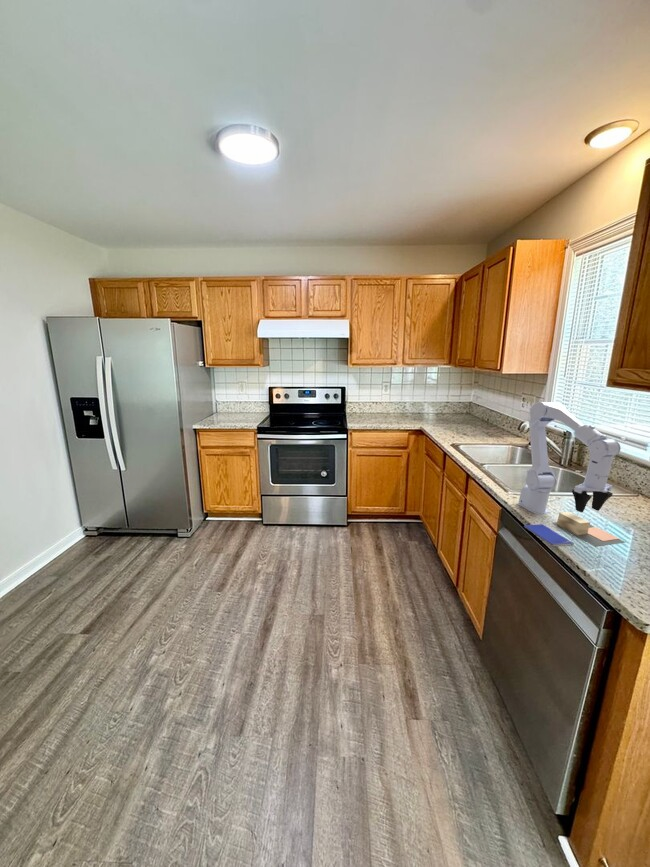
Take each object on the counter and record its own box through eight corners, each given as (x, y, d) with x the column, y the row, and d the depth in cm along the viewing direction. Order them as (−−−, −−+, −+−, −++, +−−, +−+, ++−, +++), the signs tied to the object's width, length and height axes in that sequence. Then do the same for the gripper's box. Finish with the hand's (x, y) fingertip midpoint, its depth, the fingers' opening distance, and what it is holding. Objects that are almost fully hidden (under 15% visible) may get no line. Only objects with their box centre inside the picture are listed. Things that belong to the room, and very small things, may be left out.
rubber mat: (551, 523, 124) (551, 522, 124) (579, 520, 128) (579, 519, 128) (595, 547, 109) (595, 546, 109) (625, 543, 113) (625, 542, 113)
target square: (579, 529, 120) (579, 528, 120) (595, 527, 122) (595, 527, 122) (602, 541, 112) (602, 540, 112) (619, 539, 115) (619, 538, 115)
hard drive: (574, 542, 109) (543, 524, 121) (553, 544, 108) (524, 525, 120) (572, 547, 110) (542, 528, 122) (552, 548, 108) (523, 529, 120)
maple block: (556, 523, 123) (559, 512, 122) (565, 522, 125) (568, 511, 123) (577, 535, 116) (580, 523, 115) (587, 533, 117) (590, 522, 116)
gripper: (593, 479, 106) (583, 517, 109) (625, 477, 110) (614, 514, 113) (572, 471, 112) (563, 507, 116) (603, 469, 116) (593, 504, 120)
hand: (587, 510), depth 115 cm, fingers open, 7 cm apart
